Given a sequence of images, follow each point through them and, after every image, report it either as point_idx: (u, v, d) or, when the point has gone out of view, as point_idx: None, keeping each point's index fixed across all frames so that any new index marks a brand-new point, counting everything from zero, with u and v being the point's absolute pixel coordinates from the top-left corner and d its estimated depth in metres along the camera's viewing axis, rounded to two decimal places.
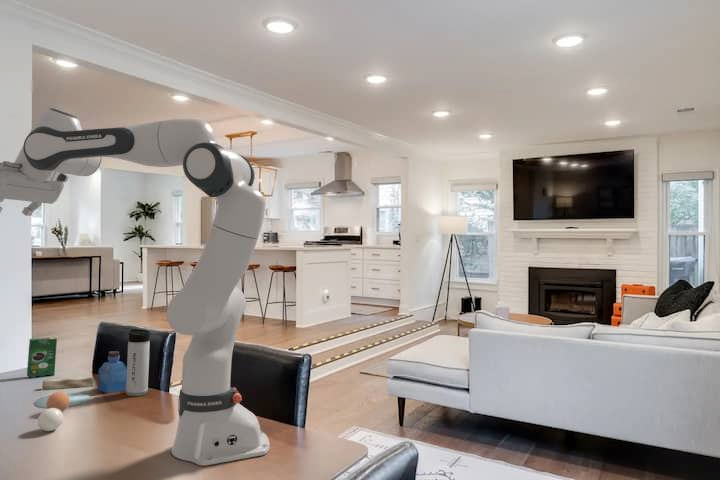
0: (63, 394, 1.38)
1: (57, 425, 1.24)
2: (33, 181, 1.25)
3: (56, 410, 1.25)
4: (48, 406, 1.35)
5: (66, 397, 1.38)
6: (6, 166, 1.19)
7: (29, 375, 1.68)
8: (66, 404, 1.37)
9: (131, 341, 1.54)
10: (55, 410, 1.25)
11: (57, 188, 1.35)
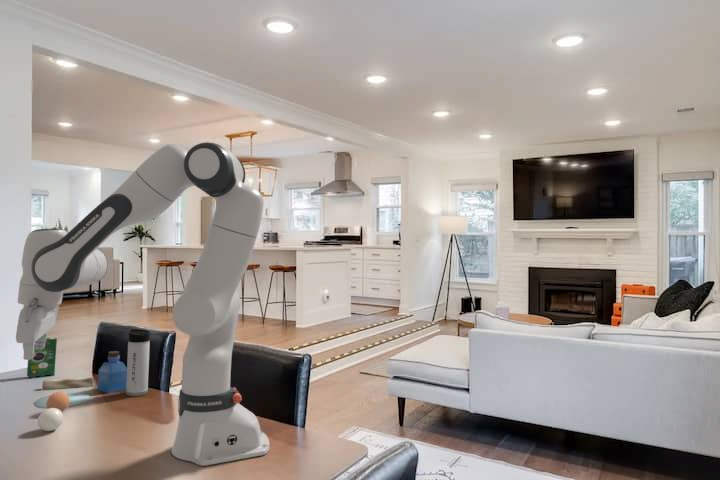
0: (63, 394, 1.38)
1: (57, 425, 1.24)
2: (51, 310, 1.17)
3: (56, 410, 1.25)
4: (48, 406, 1.35)
5: (66, 397, 1.38)
6: (31, 306, 1.10)
7: (29, 375, 1.68)
8: (66, 404, 1.37)
9: (131, 341, 1.54)
10: (55, 410, 1.25)
11: (56, 308, 1.26)
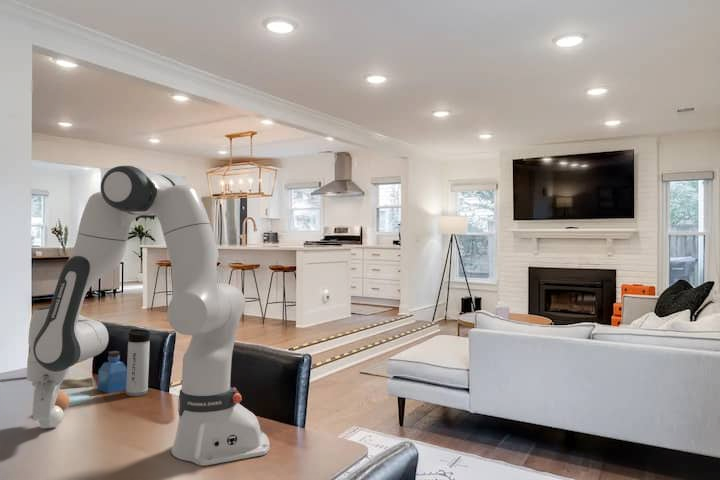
0: (63, 394, 1.38)
1: (58, 419, 1.26)
2: (59, 383, 1.23)
3: (57, 406, 1.28)
4: None
5: (66, 397, 1.38)
6: (45, 383, 1.16)
7: None
8: (66, 404, 1.37)
9: (131, 341, 1.54)
10: None
11: None
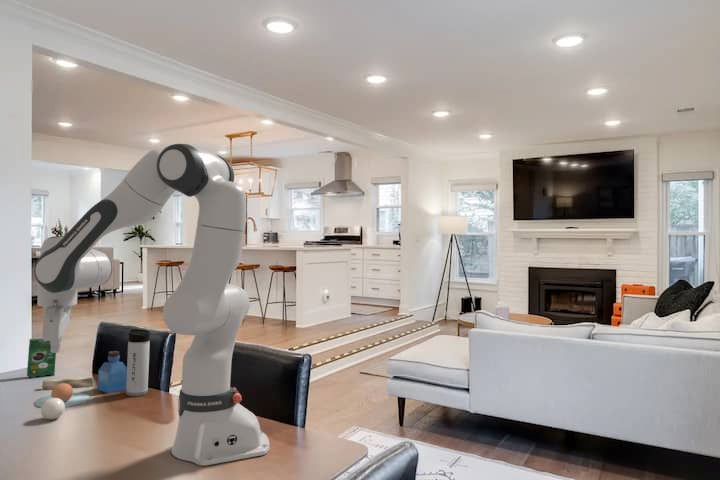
0: None
1: None
2: (68, 310, 1.28)
3: None
4: None
5: None
6: (54, 306, 1.21)
7: (29, 375, 1.68)
8: None
9: (131, 341, 1.54)
10: None
11: None
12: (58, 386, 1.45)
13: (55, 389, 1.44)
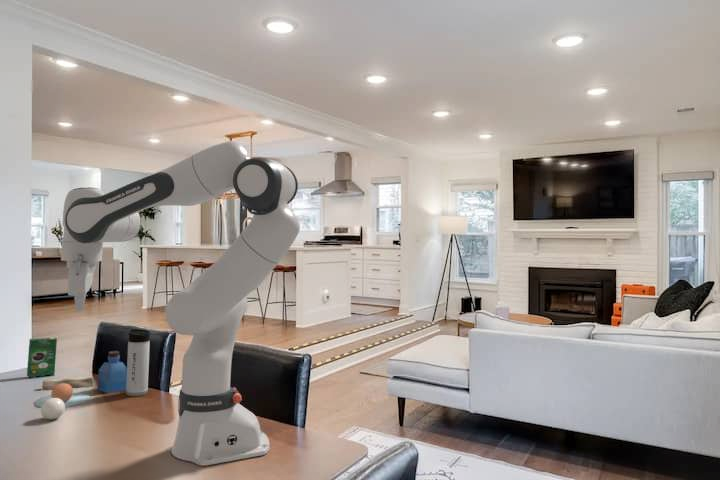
0: None
1: None
2: (93, 266, 1.22)
3: None
4: None
5: None
6: (80, 260, 1.15)
7: (29, 375, 1.68)
8: None
9: (131, 341, 1.54)
10: None
11: (92, 268, 1.30)
12: (58, 386, 1.45)
13: (55, 389, 1.44)
